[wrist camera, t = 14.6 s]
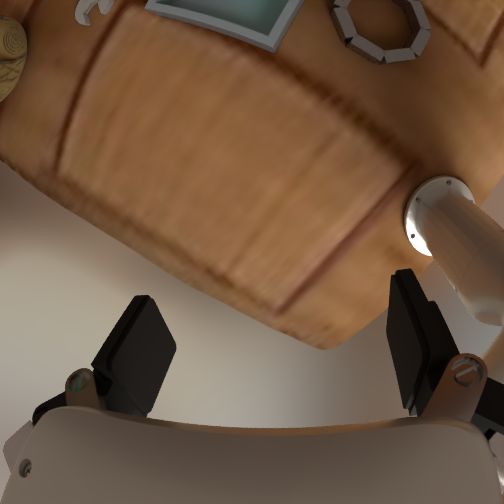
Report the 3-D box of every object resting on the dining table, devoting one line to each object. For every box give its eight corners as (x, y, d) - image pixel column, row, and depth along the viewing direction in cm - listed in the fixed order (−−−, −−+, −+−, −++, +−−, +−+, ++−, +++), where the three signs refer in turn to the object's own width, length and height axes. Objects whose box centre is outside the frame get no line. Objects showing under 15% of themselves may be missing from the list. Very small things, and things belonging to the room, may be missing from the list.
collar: (431, 18, 23) (441, 14, 20) (398, 80, 29) (407, 79, 26) (354, -30, 21) (359, -38, 19) (317, 31, 27) (320, 26, 25)
